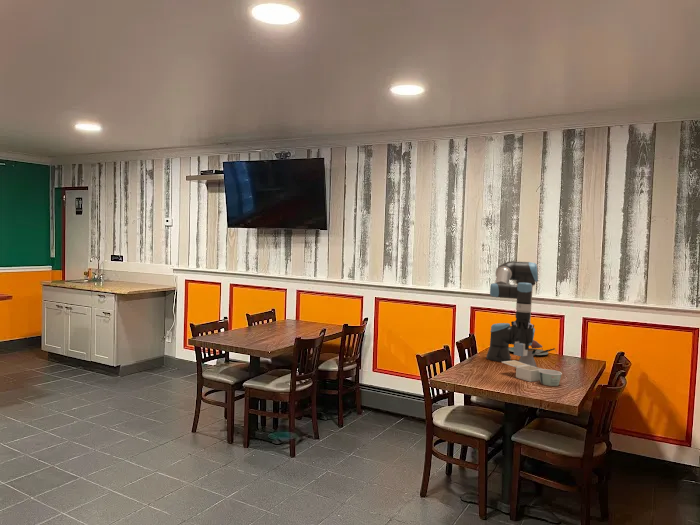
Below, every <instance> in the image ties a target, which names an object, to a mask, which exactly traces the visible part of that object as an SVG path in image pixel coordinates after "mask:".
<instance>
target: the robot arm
mask: <svg viewBox="0 0 700 525" xmlns="http://www.w3.org/2000/svg"><path fill="white" fill-rule="evenodd" d="M538 273H539V272H538V265H537V263H536V262H530V261H515V260H513V261H512V260H510V261H506V262H504V263H501V264H499V266H497V268H496V270H495V282H494V283H490V287H489V296H490V297H494V298H507V299H516V305H515V310H516V311H515V321H514V320H513V321H510V323H511V324H510V323H508V322H506V323H505V322H503V323H502V322H499V323H493V324H492V325H491V326H490V331H489V332H490V338H489V340H490V341H489V348H488V351H487V354H486V359H487V360H489V361H494V362H503V361H512V360H511V359H512V357H511V354H510V351H509V345H513V346H514V344H516V343H522V344H523V356H527V351H528V349H529V348H530V347H531V345H532V342H533V340H534V338H535V333H536V332H535V331H536V328H535V324H533V323H531V319H532V318H531V317H532V304H533V302H532V301H533V287H535V285H536V283H537V282H539V276H538V275H539V274H538ZM510 281H515V284H510Z"/></svg>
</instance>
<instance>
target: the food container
mask: <svg viewBox="0 0 700 525" xmlns="http://www.w3.org/2000/svg"><path fill="white" fill-rule="evenodd" d="M539 374H540V381H539V382H540V383H539V384H542V385H544V386H550V387H558V386H559V385H560V381H561V377H562V375H563V373H562V372H561V371H559V370H556V369H555V370H554V369H549V368H548V369H546V368H542V369H541V370H539Z"/></svg>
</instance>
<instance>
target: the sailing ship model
mask: <svg viewBox="0 0 700 525" xmlns="http://www.w3.org/2000/svg"><path fill="white" fill-rule="evenodd" d="M540 348H541V349H540ZM529 349H533V352H532V354H535V353H539V352H542V351H545V350H544V349H543V345H542V344H540V343H539V342H538V341H537V340H535V339H533V342H532V345H531V346H530V347H529ZM509 352H513V353H514V346H513V347H509ZM548 354H549V352H545V353H540V354H537V355H536V356H545V355H548Z"/></svg>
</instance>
